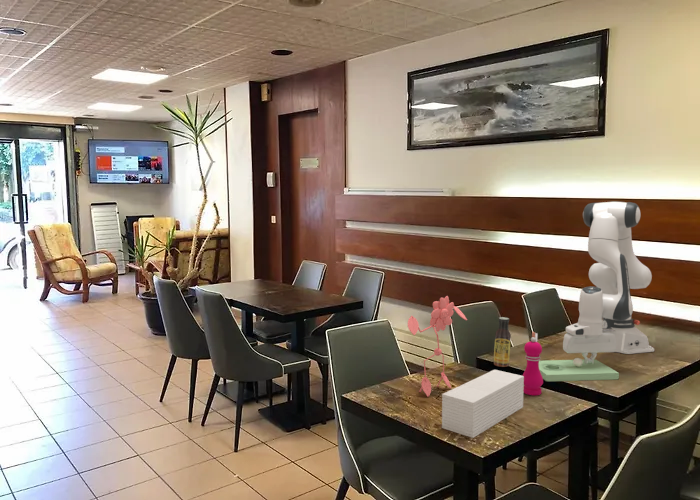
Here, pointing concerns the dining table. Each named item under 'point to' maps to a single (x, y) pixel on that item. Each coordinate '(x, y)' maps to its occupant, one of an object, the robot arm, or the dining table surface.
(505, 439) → the dining table surface
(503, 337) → the sauce bottle
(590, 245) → the robot arm
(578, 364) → the ball
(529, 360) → the pepper mill
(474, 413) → the stack of papers
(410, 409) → the dining table surface
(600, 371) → the mat
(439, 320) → the pink humanoid figure
